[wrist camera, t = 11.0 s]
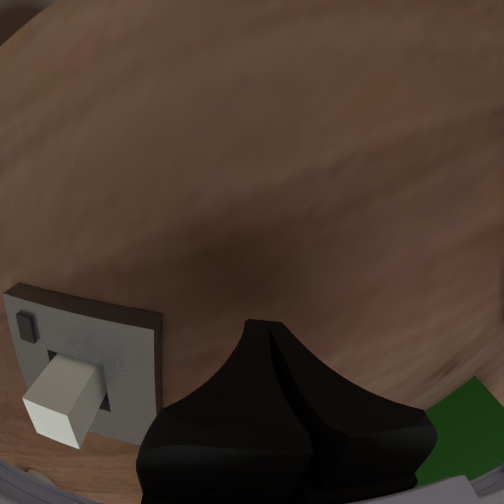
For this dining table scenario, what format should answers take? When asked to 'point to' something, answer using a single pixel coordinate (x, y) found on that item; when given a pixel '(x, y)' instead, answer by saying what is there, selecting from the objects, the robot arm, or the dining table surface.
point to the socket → (93, 352)
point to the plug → (66, 399)
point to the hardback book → (465, 435)
